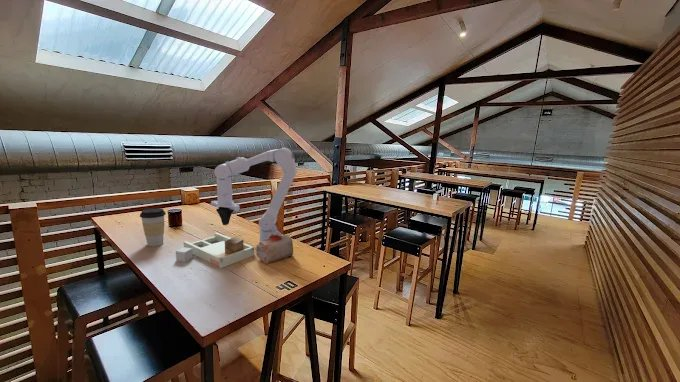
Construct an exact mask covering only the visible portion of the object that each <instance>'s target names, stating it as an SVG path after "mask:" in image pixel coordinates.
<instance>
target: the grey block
mask: <svg viewBox="0 0 680 382" xmlns="http://www.w3.org/2000/svg"><path fill="white" fill-rule="evenodd" d="M193 255H194V254H193V252H192V248H186V247H184V246H183V247H181V248H179V249H177V250H175V260H176V261H177V262H182V263H186V262H189V261H190V260H192V259H194V256H193Z"/></svg>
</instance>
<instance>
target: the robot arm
mask: <svg viewBox="0 0 680 382" xmlns="http://www.w3.org/2000/svg"><path fill="white" fill-rule="evenodd" d="M264 162H271V163H272V162H273V163H274V162H276V163H277V165H279V167H280V169H281V171H282V172H283V175H282V177H281V179H280V181H279V184H277V188H276V190H275V192H274V194H273V197H272V199H271V201H270V203H269V206H268V207H267V210H266V211H265V212H264V213H263V215H262V217H261V218H260V219H259V221H258V227H259V242H261V241H263V240H266V239H269V237H270V236H271V234H273V235H279V236H283V234H282V233H281V232H280V231H279V230H278V227H277V224H276V223H277V222H278V214H279V211H280V209H281V207H282V204H283V203H284V200H285V199H286V197H287V194H288V193H289V190H290V188H291V185H292V183H293V181H294V179H295V177H296V175H297V167H296V162H295V156H294V153H293V151H292V150H291V149H290V148H288V147H281V148H277V149H271V150H268V151H265V152H262V153H260V154H257V155H255V156H251V157H249V158H245V157H244V156H242V157H241V156H238V157H236V159H233V160H230V161H228V160H227V161H225V162H224V163H222V164H219V165H217V166H216V167H215V169H214V171H213V172H214V176H215V177H216V192H217V193H216V194H217V200H212V201H210V205H211V207H218V208H216V209H215V210H216V212H217V214H218V215H219V217H220V220H221V223H222V225H223V226H227V225H229V223H230V220H231V217H232V214H233V212H234V211H235V212H237V211H241V209H240V208H241V207H240V205H238V204H236V203H235V202H234V201H233V188H232V187H233V183H232V176H235V175H238V174H242V173H244V172H248V171H249V170H250V167H251V166H255V165H259V164H260V163H264Z"/></svg>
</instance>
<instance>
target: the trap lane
mask: <svg viewBox="0 0 680 382" xmlns="http://www.w3.org/2000/svg"><path fill="white" fill-rule="evenodd" d="M231 238H232V237H229V236H226V235H224V234H221V233H219V232H214V236H211V237H207V238H204V239H201V240H197V241H194V242H189V241H188V240H185V241H183V247H186V248H192V252H193V255H194V256H196V257H197V258H200V259H202V260H204V261H207V263H210V264H212V265H214V266H216V267H218V268H220V269H223V268H225V267H227V266H229V265H232V264H235V263H238V262H241V261H242V260H246V259H249V258H250V257H253V256H255V246H252V245H249V244H247V243H244V242H243V243H244V250H241V251H239V252H236V253H233V254H230V255H229V254H225V241H227V240H229V239H231Z"/></svg>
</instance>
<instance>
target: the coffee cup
mask: <svg viewBox="0 0 680 382" xmlns="http://www.w3.org/2000/svg"><path fill="white" fill-rule="evenodd" d="M166 214H167V213H166V211H165V210H164V208H161V207H152V208H151V207H150V208H145V209H143V210H141V212H140V213H139V218H141V221H142V227H143V233H144V236H145V240H146V244H147V246H148V247H158V246H161V245H163V244H164V234H165V216H166Z"/></svg>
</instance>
